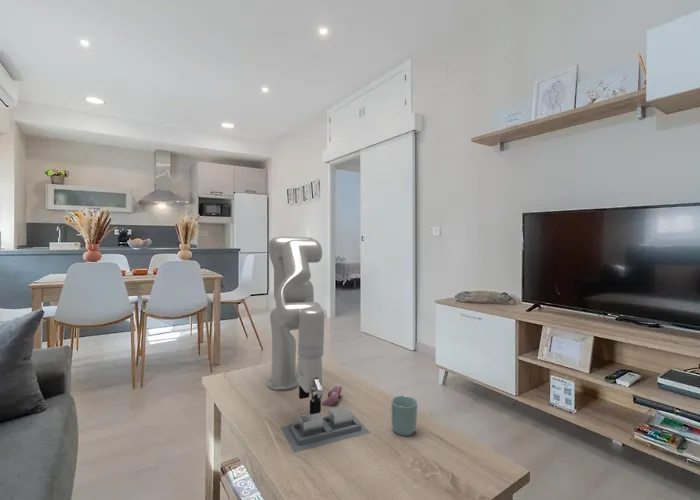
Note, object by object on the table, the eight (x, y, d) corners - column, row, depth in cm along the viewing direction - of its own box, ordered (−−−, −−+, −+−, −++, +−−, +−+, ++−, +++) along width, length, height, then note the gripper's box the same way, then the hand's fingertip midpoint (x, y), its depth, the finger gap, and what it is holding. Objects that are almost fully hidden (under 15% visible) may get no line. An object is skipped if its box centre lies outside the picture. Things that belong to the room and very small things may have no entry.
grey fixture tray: (280, 430, 108) (280, 422, 108) (350, 414, 119) (350, 407, 119) (293, 455, 96) (293, 446, 95) (370, 435, 106) (370, 427, 106)
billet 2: (328, 424, 110) (328, 409, 110) (345, 420, 113) (345, 405, 112) (334, 432, 106) (334, 415, 106) (351, 427, 109) (352, 411, 108)
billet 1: (298, 431, 106) (298, 415, 106) (317, 427, 108) (317, 411, 108) (303, 439, 102) (303, 422, 102) (322, 434, 104) (322, 418, 104)
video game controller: (331, 414, 122) (340, 397, 121) (320, 407, 123) (329, 390, 122) (337, 401, 132) (345, 385, 131) (326, 394, 132) (335, 379, 132)
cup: (418, 429, 110) (419, 398, 110) (414, 442, 103) (415, 409, 103) (393, 424, 113) (394, 394, 112) (388, 437, 105) (389, 404, 105)
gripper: (290, 342, 110) (289, 394, 111) (308, 361, 95) (306, 422, 96) (312, 339, 114) (311, 390, 115) (333, 357, 98) (332, 416, 99)
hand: (309, 405), depth 105 cm, fingers open, 9 cm apart
